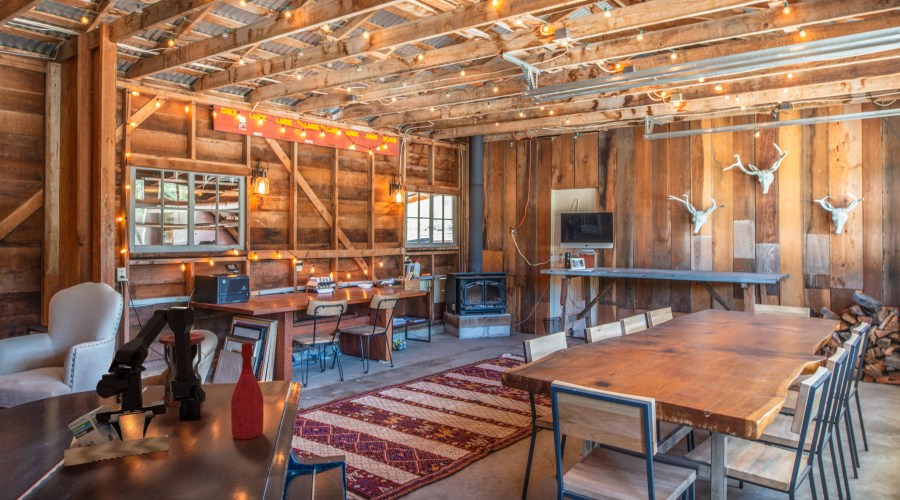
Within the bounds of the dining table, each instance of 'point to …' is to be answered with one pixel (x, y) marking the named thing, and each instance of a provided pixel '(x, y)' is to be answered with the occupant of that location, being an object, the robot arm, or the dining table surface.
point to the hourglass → (171, 353)
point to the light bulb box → (92, 430)
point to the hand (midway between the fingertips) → (132, 439)
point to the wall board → (113, 449)
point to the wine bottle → (247, 401)
